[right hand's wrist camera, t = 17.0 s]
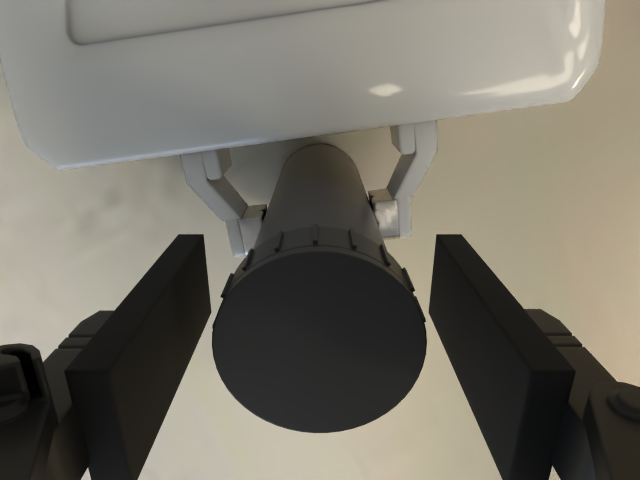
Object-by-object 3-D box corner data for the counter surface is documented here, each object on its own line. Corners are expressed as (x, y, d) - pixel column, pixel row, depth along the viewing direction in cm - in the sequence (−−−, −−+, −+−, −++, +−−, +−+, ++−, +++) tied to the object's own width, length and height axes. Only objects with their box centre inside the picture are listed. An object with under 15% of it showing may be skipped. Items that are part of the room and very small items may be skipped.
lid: (326, 181, 11) (327, 200, 9) (454, 320, 12) (473, 358, 10) (182, 307, 12) (162, 342, 10) (313, 420, 13) (313, 467, 12)
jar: (370, 206, 25) (431, 376, 11) (297, 233, 26) (271, 424, 12) (344, 131, 24) (377, 222, 10) (267, 161, 24) (197, 285, 11)
